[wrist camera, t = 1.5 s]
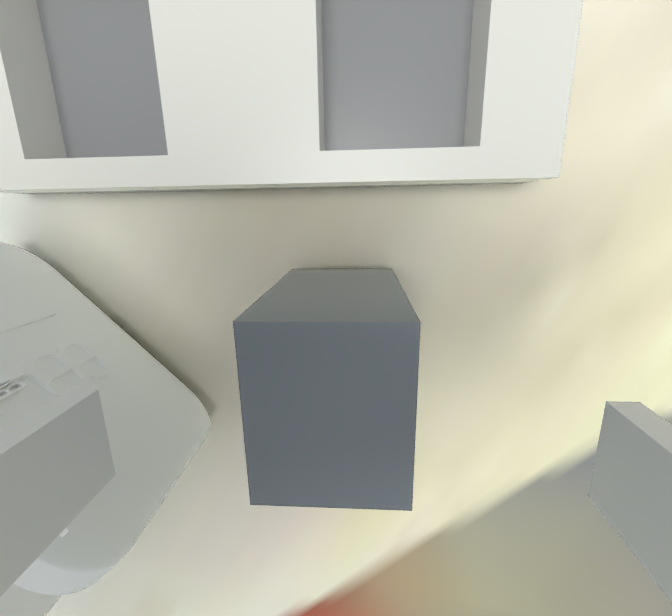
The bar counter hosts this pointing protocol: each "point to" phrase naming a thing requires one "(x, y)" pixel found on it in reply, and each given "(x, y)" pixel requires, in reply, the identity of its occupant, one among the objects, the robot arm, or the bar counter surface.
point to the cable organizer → (119, 414)
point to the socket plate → (282, 93)
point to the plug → (330, 390)
